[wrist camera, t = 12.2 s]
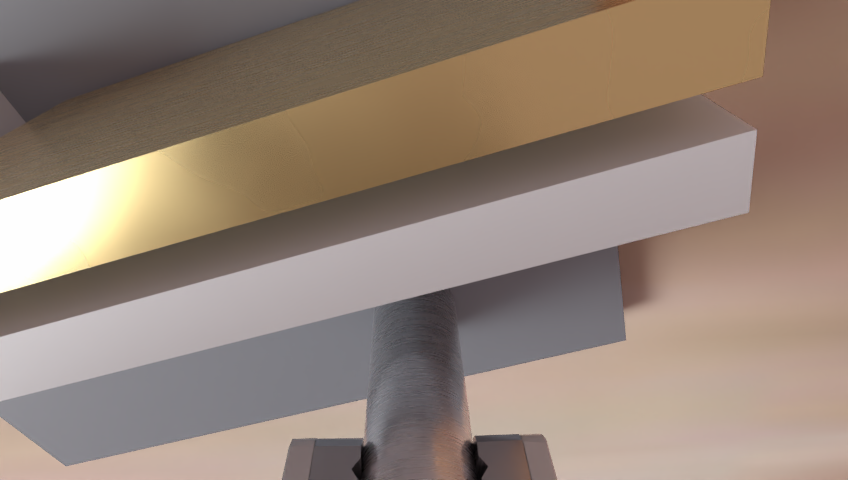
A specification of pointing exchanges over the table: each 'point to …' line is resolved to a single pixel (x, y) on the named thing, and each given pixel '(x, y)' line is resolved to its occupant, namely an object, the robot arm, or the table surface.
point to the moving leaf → (344, 114)
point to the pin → (417, 394)
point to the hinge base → (326, 249)
